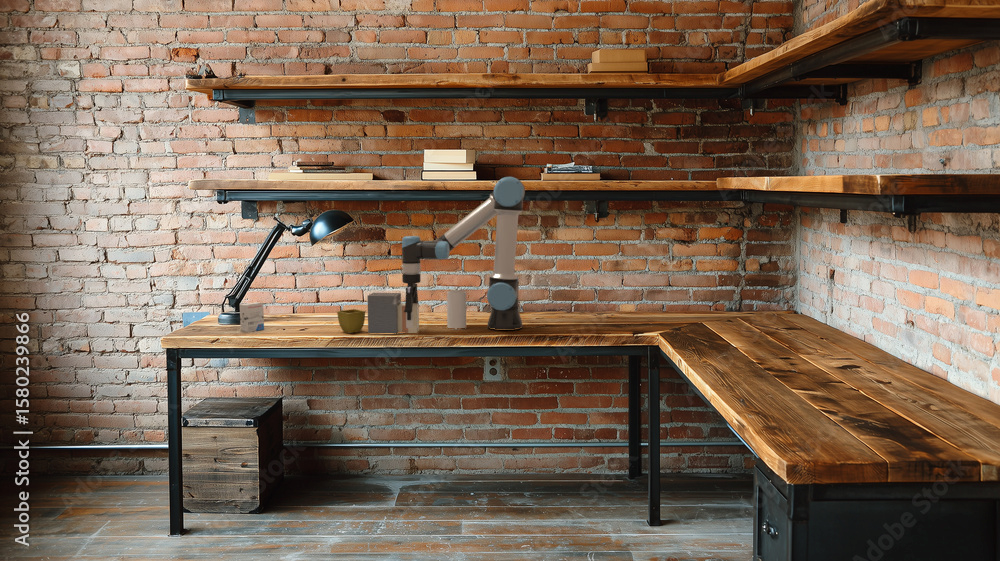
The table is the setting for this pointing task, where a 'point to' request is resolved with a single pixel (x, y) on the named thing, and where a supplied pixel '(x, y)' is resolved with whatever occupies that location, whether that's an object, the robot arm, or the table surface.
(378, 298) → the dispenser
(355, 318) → the flower pot
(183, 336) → the table surface
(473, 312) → the table surface
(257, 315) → the ink box
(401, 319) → the striped beige block
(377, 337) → the table surface
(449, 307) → the cup
